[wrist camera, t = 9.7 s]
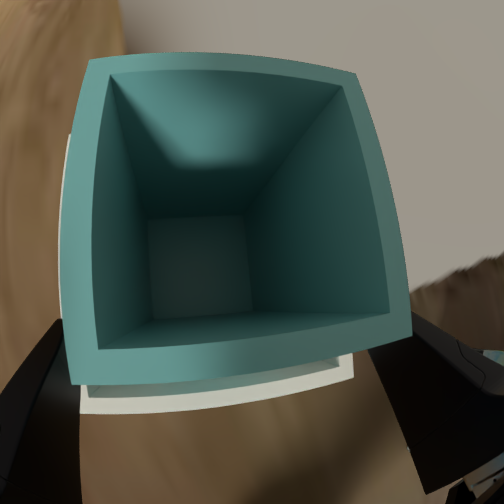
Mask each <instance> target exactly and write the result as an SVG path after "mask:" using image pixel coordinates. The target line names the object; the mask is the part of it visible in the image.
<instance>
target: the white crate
mask: <svg viewBox="0 0 504 504" xmlns="http://www.w3.org/2000/svg"><path fill="white" fill-rule="evenodd" d="M70 137H71V134H69V138H68V143H67V150H66V156H65V163H64V171H63V179H62V189H61V200H60V214H59V237H58V274H59V297H60V311H61V318H62V307H61V290H60V227H61V209H62V197H63V187H64V178H65V170H66V162H67V155H68V149H69V143H70ZM351 378H354V373H353V357H352V353H350V354H346V355H342V356H338V357H334V358H329V359H325V360H321V361H316V362H311V363H307V364H302V365H297V366H292V367H286V368H281V369H275V370H269V371H263V372H257V373H251V374H244V375H237V376H230V377H222V378H214V379H205V380H195V381H184V382H171V383H156V384H136V385H81V400H80V413H82V414H140V413H160V412H174V411H185V410H195V409H204V408H212V407H220V406H227V405H234V404H240V403H246V402H252V401H258V400H263V399H269V398H274V397H279V396H283V395H288V394H293V393H297V392H301V391H306V390H310V389H314V388H318V387H322V386H326V385H329V384H333V383H337V382H340V381H344V380H347V379H351Z"/></svg>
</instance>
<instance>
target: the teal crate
mask: <svg viewBox="0 0 504 504" xmlns="http://www.w3.org/2000/svg"><path fill="white" fill-rule="evenodd" d="M60 290H61V307H62V319H63V330H64V339H65V347H66V354H67V361H68V367H69V373H70V379H71V384H72V385H136V384H156V383H171V382H184V381H195V380H205V379H214V378H222V377H230V376H237V375H244V374H251V373H257V372H263V371H269V370H275V369H281V368H286V367H292V366H297V365H302V364H307V363H311V362H316V361H321V360H325V359H329V358H334V357H338V356H342V355H346V354H350V353H354V352H358V351H362V350H365V349H369V348H373V347H376V346H380V345H383V344H387V343H390V342H394V341H397V340H400V339H403V338H407V337H410V336H412V320H411V308H410V297H409V288H408V279H407V272H406V264H405V257H404V251H403V245H402V239H401V234H400V228H399V222H398V217H397V213H396V208H395V203H394V198H393V194H392V189H391V185H390V181H389V177H388V173H387V169H386V165H385V161H384V158H383V154H382V150H381V147H380V144H379V140H378V137H377V134H376V131H375V127H374V124H373V121H372V118H371V115H370V112H369V109H368V106H367V103H366V100H365V97H364V94H363V92H362V89H361V86H360V84H359V81H358V78H357V76H356V74H355V73H351V72H347V71H343V70H338V69H333V68H329V67H325V66H320V65H314V64H309V63H304V62H298V61H292V60H284V59H277V58H270V57H262V56H252V55H240V54H226V53H202V52H175V53H174V52H173V53H148V54H134V55H123V56H114V57H105V58H98V59H91V60H89V63H88V67H87V70H86V73H85V77H84V80H83V84H82V88H81V92H80V95H79V100H78V104H77V108H76V112H75V117H74V122H73V127H72V132H71V137H70V143H69V149H68V155H67V162H66V170H65V178H64V187H63V197H62V209H61V227H60Z"/></svg>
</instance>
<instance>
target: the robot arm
mask: <svg viewBox="0 0 504 504" xmlns="http://www.w3.org/2000/svg"><path fill="white" fill-rule="evenodd" d="M411 320H412V336H410V337H407V338H403V339H400V340H397V341H394V342H390V343H387V344H383V345H380V346H376V347H373V348H369V349H367V350H368V353H369V355H370V357H371V360H372V362H373V364H374V366H375V369H376V371H377V373H378V375H379V378H380V380H381V382H382V384H383V387H384V389H385V391H386V394H387V396H388V398H389V401H390V403H391V405H392V408H393V410H394V413H395V415H396V418H397V420H398V422H399V425H400V427H401V430H402V432H403V435H404V437H405V440H406V443H407V445H408V448H409V449H410V450H409V451H410V453H411V456H412V459H413V461H414V464H415V467H416V470H417V472H418V475H419V478H420V481H421V484H422V486H423V489H424V492H425V494H426V495H427V494H429V493H432V492H434V491H436V490H438V489H440V488H442V487H444V486H446V485H448V484H450V483H452V482H454V481H456V480H458V479H460V478H463V479H462V480H461V481H459V482H458V483H457V484H456V485H454V486H453V487H452V488H450V489H449V493H448V496H447V500H446V503H445V504H504V366H503V365H501V364H499V363H497V362H495V361H493V360H491V359H490V358H488V357H486V356H484V355H482V354H480V353H479V352H477V351H475V350H473V349H472V348H470V347H468V346H467V345H465V344H464V343H462V342H460V341H459V340H456V339H455V338H454V337H452V336H451V335H449V334H448V333H446V332H444V331H443V330H441V329H440V328H438V327H436V326H435V325H433V324H432V323H430V322H428V321H427V320H425V319H423V318H422V317H420V316H419V315H417V314H415V313H414V312H412V311H411ZM80 400H81V385H72V384H71V379H70V373H69V367H68V361H67V354H66V347H65V339H64V330H63V319H62V318H60V319H57V320H56V321H55V322H54V323H53V325H52V326H51V327H50V328H49V330H48V331H47V332H46V333H45V334H44V336H43V337H42V338H41V339H40V341H39V342H38V343H37V345H36V346H35V347H34V348H33V350H32V351H31V352H30V354H29V355H28V356H27V358H26V359H25V360H24V362H23V363H22V364H21V366H20V367H19V368H18V370H17V371H16V372H15V374H14V375H13V377H12V378H11V379H10V381H9V382H8V384H7V385H6V387H5V388H4V389H3V391H2V392H1V394H0V504H83V503H82V493H81V479H80V454H79V425H80Z"/></svg>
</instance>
